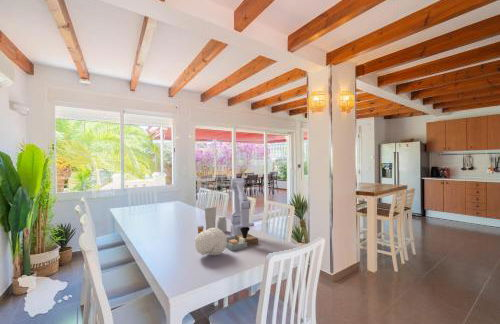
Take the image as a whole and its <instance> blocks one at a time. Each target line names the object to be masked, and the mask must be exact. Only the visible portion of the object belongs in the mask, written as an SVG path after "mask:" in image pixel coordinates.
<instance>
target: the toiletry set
mask: <svg viewBox="0 0 500 324" xmlns="http://www.w3.org/2000/svg"><path fill="white" fill-rule="evenodd" d="M204 216H205V227H204V225H201V224H199V225H198V226H197V235H198V234H199V233H201V232H202V231H204V228H205V231H206V230H207V229H209V228H218V229H220V230H222V231H223V232H224V233H226V232H227V218H226V215H219V216H218V219H217V223H216V217H217V206H214V207H207V208H206V207H205V208H204ZM216 224H217V226H216Z"/></svg>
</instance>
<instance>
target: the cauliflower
mask: <svg viewBox="0 0 500 324" xmlns="http://www.w3.org/2000/svg"><path fill="white" fill-rule="evenodd" d="M226 238H227V236H226V233H225V232H223V231H222V230H220V229H218V228H217V227H215V228H209V229H207V230H206V229H205V230H203V231H202V232H201V233H199V234H198V233H197V235H196V236H195V238H194V245H195V246H194V247H195V250H196V251H197V253H198V254H200V255H201V256H204V255H210V256H219V255H220V254H222V253H223V252H224V250H225V249H226V244H227V239H226Z"/></svg>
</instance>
